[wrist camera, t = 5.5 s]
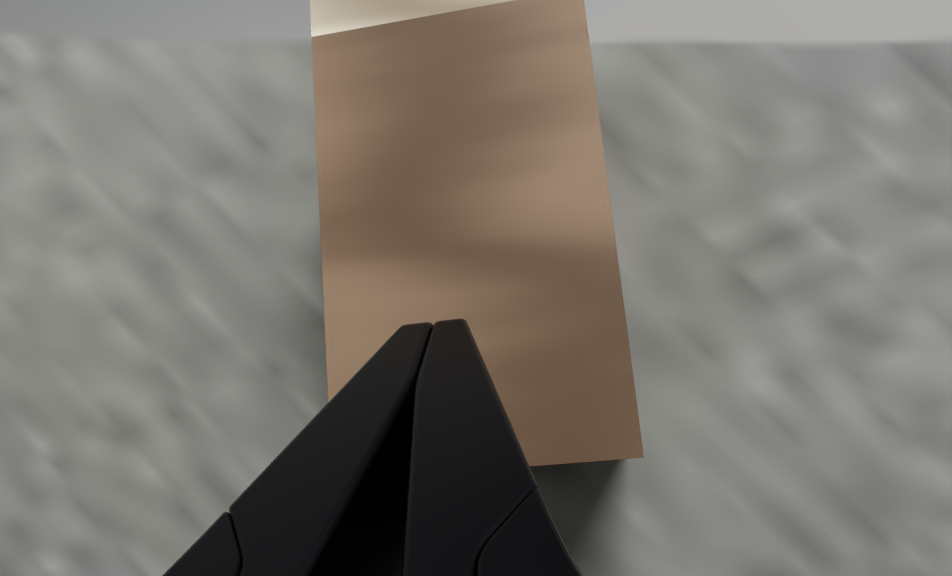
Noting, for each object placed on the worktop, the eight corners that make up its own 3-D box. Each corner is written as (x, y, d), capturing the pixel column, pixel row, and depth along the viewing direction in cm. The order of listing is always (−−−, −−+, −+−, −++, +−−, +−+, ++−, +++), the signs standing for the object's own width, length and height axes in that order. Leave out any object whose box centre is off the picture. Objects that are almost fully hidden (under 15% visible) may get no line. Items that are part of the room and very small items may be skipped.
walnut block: (627, 441, 15) (580, 72, 17) (643, 457, 10) (575, -63, 12) (411, 459, 16) (387, 104, 18) (331, 482, 11) (309, -12, 13)
